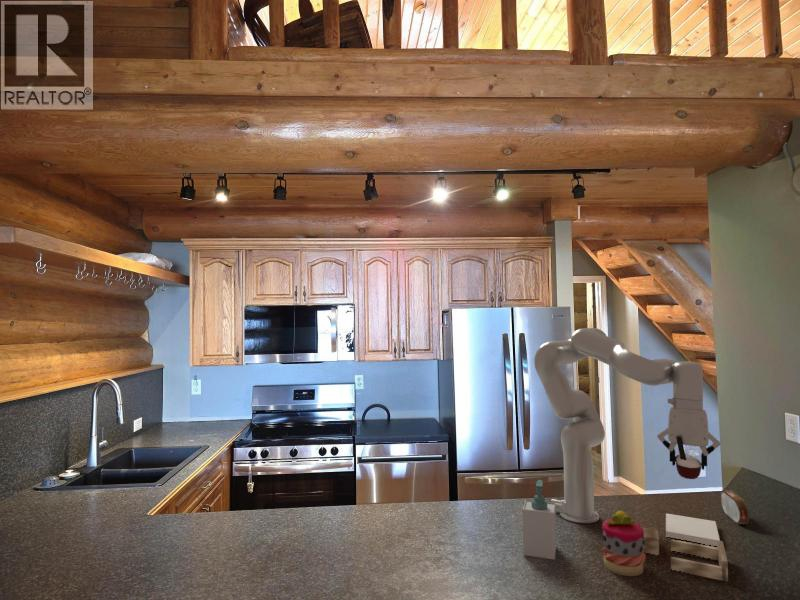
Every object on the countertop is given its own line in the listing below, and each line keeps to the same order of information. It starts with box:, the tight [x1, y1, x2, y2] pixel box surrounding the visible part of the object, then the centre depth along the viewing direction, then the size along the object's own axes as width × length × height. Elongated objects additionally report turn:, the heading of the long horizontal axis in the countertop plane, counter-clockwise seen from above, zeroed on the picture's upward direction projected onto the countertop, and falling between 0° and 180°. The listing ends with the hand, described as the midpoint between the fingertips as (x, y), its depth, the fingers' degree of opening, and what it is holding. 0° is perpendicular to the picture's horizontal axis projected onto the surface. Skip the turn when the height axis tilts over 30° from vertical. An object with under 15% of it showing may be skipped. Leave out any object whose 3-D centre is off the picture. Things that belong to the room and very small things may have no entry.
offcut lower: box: [643, 546, 660, 556], centre depth 147 cm, size 5×8×2 cm, turn 153°
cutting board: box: [665, 513, 721, 548], centre depth 158 cm, size 14×16×2 cm
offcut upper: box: [641, 526, 660, 549], centre depth 147 cm, size 5×7×2 cm, turn 156°
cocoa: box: [675, 437, 702, 480], centre depth 146 cm, size 10×6×12 cm, turn 99°
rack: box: [670, 539, 729, 582], centre depth 137 cm, size 13×13×5 cm
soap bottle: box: [522, 479, 557, 560], centre depth 146 cm, size 9×9×19 cm
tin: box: [720, 489, 750, 526], centre depth 169 cm, size 15×3×8 cm, turn 168°
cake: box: [601, 510, 647, 577], centre depth 136 cm, size 10×11×15 cm
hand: (688, 465), depth 146 cm, fingers closed on cocoa, 6 cm apart
